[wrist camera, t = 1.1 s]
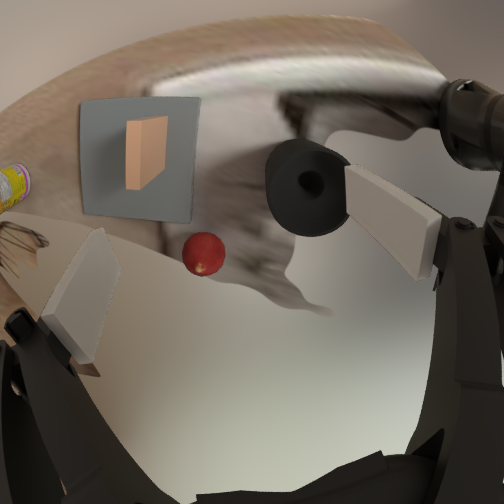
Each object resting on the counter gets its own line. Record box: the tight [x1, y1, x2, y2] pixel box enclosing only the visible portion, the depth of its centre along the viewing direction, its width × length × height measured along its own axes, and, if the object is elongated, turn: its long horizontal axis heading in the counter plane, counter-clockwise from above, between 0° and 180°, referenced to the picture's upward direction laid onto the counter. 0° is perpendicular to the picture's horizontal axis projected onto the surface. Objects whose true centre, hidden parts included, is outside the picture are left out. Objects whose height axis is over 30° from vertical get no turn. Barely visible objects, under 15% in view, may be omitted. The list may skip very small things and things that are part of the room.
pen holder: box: [265, 139, 351, 237], centre depth 31 cm, size 9×9×10 cm
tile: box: [126, 116, 168, 190], centre depth 28 cm, size 2×7×9 cm, turn 172°
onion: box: [182, 232, 225, 277], centre depth 37 cm, size 6×6×8 cm
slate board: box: [80, 97, 201, 224], centre depth 33 cm, size 17×17×1 cm
